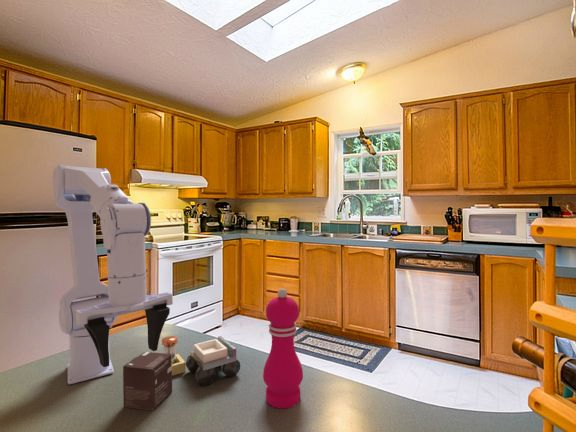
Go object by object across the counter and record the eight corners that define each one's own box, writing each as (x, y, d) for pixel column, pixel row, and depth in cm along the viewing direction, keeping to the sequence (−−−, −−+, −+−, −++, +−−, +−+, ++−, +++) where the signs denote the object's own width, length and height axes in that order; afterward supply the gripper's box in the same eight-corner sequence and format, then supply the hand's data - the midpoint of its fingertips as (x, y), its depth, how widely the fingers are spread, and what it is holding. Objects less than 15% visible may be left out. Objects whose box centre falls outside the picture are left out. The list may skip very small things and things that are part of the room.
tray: (193, 351, 67) (193, 344, 67) (216, 346, 70) (216, 338, 70) (203, 362, 63) (203, 354, 63) (227, 356, 65) (227, 348, 65)
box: (153, 412, 54) (152, 369, 54) (122, 407, 55) (121, 366, 55) (173, 392, 60) (172, 353, 60) (144, 388, 61) (144, 350, 61)
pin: (160, 369, 68) (160, 338, 68) (175, 365, 70) (175, 334, 70) (164, 375, 66) (163, 343, 66) (179, 371, 68) (179, 339, 68)
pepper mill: (297, 385, 62) (296, 283, 62) (307, 407, 55) (307, 292, 55) (260, 389, 60) (259, 285, 60) (266, 413, 53) (265, 294, 53)
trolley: (185, 371, 67) (185, 344, 67) (225, 360, 73) (224, 334, 73) (198, 388, 61) (198, 358, 61) (240, 374, 66) (240, 347, 66)
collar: (155, 369, 69) (155, 359, 69) (178, 362, 72) (178, 353, 72) (160, 379, 65) (160, 369, 65) (185, 371, 67) (185, 362, 67)
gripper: (83, 285, 45) (86, 381, 45) (179, 270, 56) (182, 348, 55) (71, 280, 50) (74, 366, 50) (161, 267, 61) (164, 339, 60)
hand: (130, 356), depth 53 cm, fingers open, 7 cm apart
